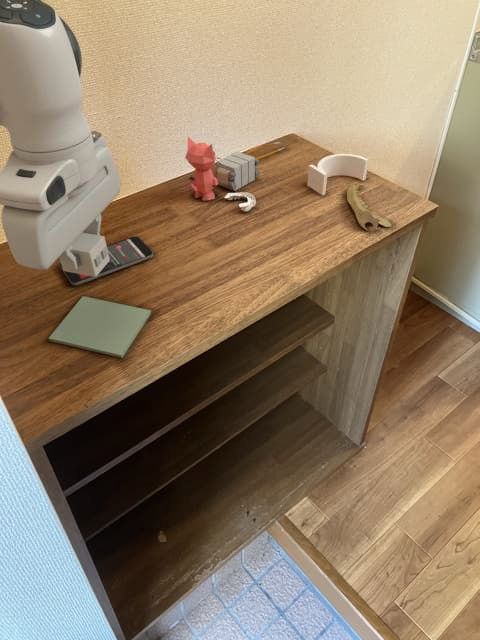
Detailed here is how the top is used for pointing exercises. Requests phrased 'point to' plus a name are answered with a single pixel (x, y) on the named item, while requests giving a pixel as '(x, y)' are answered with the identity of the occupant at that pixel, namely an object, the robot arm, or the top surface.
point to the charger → (90, 254)
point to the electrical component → (239, 169)
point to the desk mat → (101, 326)
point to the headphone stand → (336, 170)
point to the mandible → (363, 209)
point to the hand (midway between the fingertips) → (83, 256)
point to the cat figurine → (202, 169)
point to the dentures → (240, 195)
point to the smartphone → (116, 259)
